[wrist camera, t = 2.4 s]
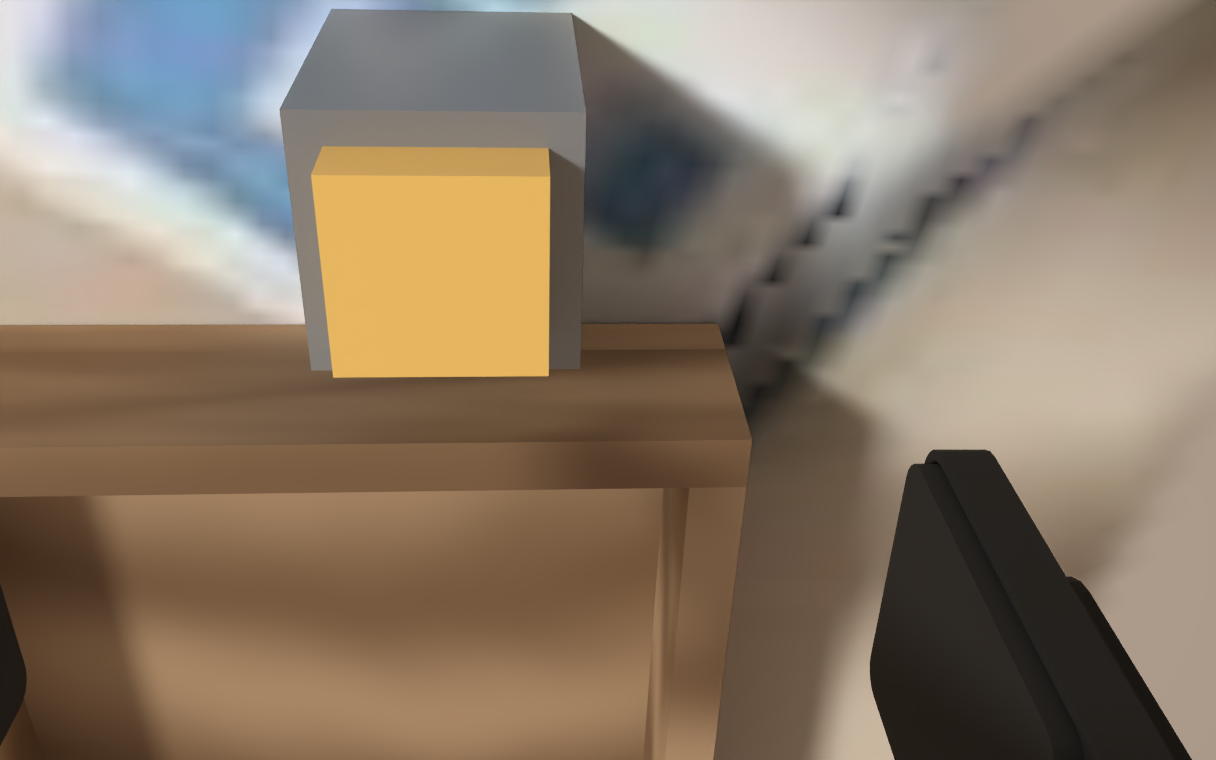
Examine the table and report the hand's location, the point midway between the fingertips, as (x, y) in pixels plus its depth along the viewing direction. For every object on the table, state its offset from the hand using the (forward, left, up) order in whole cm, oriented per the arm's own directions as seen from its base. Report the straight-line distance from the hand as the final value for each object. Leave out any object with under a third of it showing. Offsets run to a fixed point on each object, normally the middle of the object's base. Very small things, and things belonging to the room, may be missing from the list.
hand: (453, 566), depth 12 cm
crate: (+15, -3, -11) cm, 19 cm away
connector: (-1, 0, -11) cm, 11 cm away
